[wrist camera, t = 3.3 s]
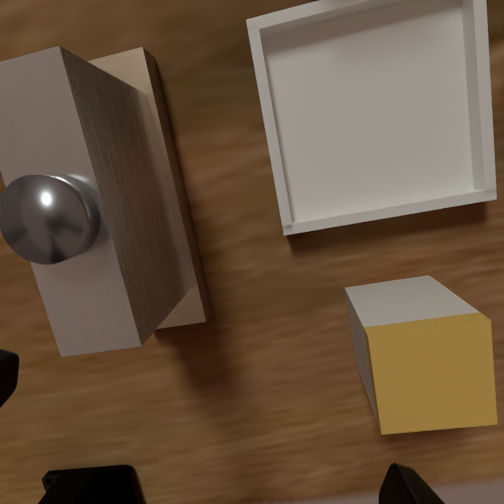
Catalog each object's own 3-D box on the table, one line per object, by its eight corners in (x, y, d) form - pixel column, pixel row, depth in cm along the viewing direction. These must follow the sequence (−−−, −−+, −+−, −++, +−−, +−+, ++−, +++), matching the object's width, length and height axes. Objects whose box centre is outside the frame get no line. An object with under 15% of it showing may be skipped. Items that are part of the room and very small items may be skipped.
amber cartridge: (436, 350, 20) (497, 424, 14) (355, 360, 20) (381, 434, 15) (428, 275, 19) (490, 320, 13) (344, 287, 20) (367, 336, 14)
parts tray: (479, 197, 18) (496, 199, 16) (284, 230, 19) (283, 235, 18) (465, -24, 16) (483, -44, 14) (249, 32, 17) (246, 19, 16)
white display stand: (212, 311, 21) (155, 412, 12) (147, 320, 21) (48, 423, 13) (154, 57, 18) (25, -53, 9) (82, 75, 19) (-103, -12, 10)
